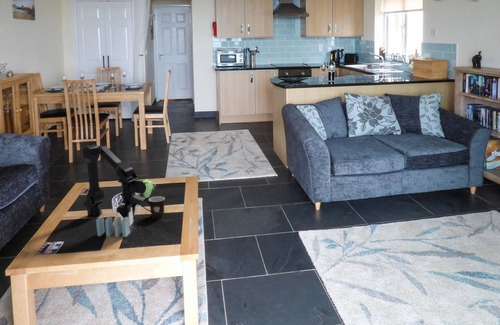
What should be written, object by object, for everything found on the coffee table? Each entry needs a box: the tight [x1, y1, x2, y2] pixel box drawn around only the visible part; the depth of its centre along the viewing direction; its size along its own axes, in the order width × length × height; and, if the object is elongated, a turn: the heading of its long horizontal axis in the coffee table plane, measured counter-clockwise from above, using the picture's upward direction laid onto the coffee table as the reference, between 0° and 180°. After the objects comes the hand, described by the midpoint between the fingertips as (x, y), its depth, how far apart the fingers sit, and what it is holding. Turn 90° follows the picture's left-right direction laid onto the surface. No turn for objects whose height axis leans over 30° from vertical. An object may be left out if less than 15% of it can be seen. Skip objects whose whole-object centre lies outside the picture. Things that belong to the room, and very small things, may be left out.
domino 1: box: [95, 215, 106, 237], centre depth 226 cm, size 2×5×8 cm, turn 175°
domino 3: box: [113, 216, 123, 238], centre depth 225 cm, size 2×5×8 cm, turn 175°
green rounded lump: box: [143, 178, 156, 199], centre depth 279 cm, size 12×11×11 cm
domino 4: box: [121, 217, 131, 238], centre depth 224 cm, size 2×5×8 cm, turn 175°
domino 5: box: [129, 207, 134, 227], centre depth 238 cm, size 2×5×8 cm, turn 175°
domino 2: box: [104, 216, 114, 237], centre depth 225 cm, size 2×5×8 cm, turn 175°
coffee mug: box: [141, 196, 166, 219], centre depth 249 cm, size 12×9×10 cm
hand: (129, 219), depth 239 cm, fingers open, 8 cm apart
